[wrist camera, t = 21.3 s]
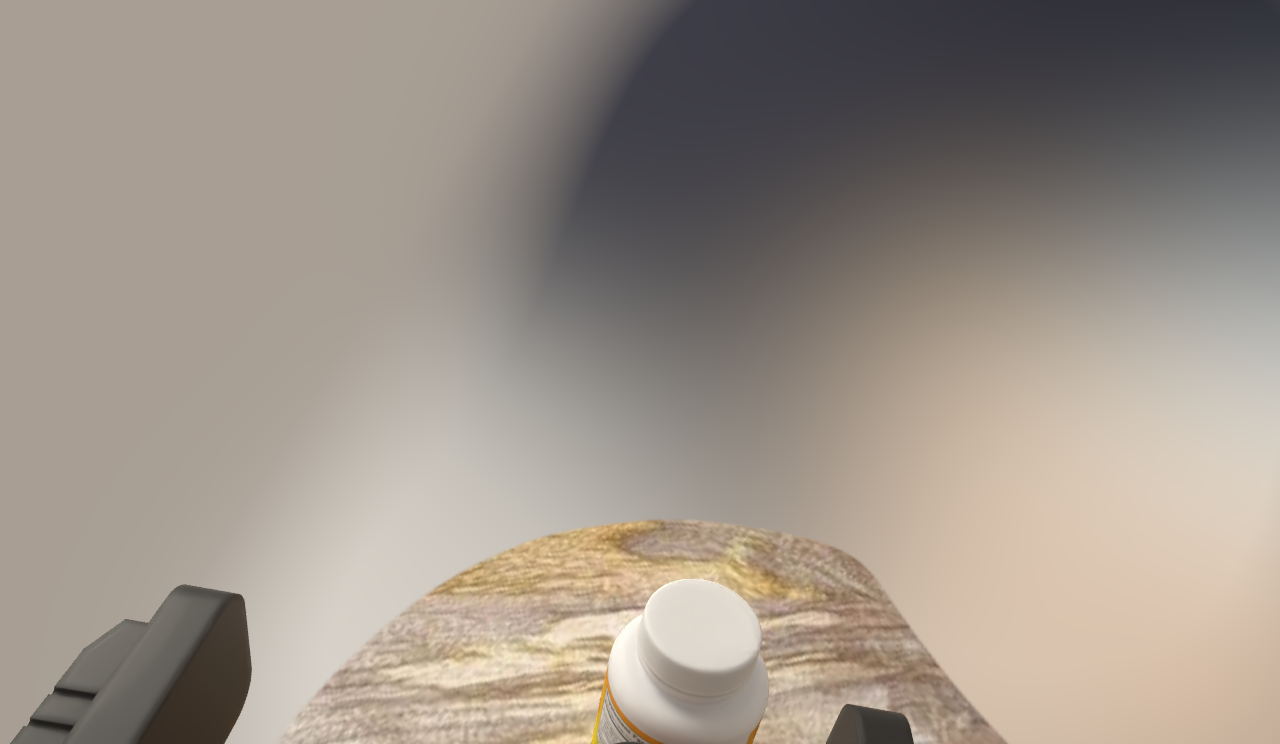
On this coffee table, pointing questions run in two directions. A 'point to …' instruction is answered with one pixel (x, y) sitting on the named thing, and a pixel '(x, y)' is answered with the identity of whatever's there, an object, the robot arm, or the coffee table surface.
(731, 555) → the coffee table surface
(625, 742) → the amber bottle
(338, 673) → the coffee table surface
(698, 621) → the supplement bottle
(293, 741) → the coffee table surface
